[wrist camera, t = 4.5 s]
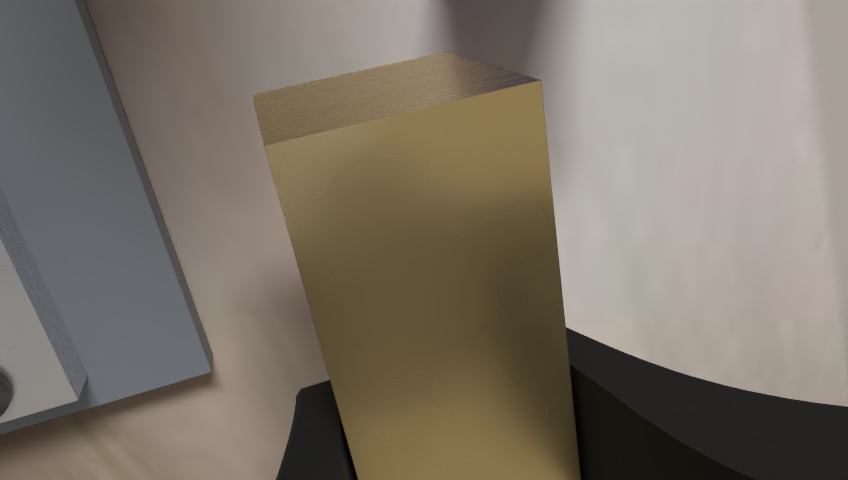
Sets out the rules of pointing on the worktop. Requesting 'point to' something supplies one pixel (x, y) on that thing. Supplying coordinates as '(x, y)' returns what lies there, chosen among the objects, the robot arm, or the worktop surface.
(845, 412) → the robot arm
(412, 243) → the link bar
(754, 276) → the worktop surface
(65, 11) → the slate board
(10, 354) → the mounting blocks
